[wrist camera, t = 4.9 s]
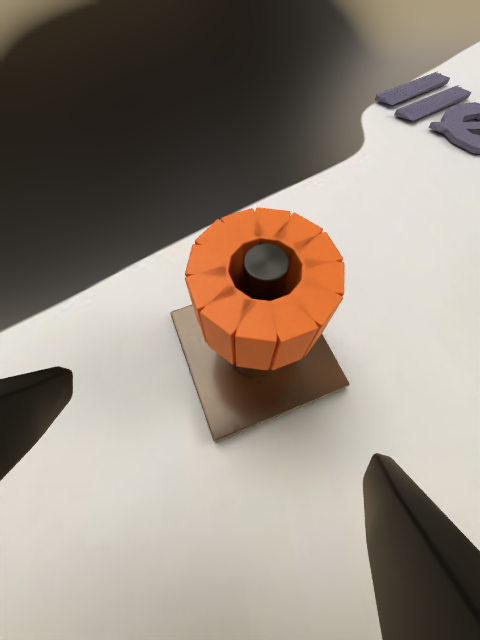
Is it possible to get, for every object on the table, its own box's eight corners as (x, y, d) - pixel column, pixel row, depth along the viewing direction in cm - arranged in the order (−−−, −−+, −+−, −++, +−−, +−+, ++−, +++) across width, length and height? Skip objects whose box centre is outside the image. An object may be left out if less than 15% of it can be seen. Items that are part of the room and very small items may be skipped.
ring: (346, 341, 17) (375, 306, 13) (223, 389, 16) (218, 366, 12) (289, 243, 20) (301, 192, 16) (181, 278, 19) (167, 232, 15)
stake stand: (346, 387, 23) (433, 320, 13) (215, 442, 21) (191, 416, 11) (286, 278, 27) (316, 157, 17) (172, 317, 25) (125, 211, 15)
